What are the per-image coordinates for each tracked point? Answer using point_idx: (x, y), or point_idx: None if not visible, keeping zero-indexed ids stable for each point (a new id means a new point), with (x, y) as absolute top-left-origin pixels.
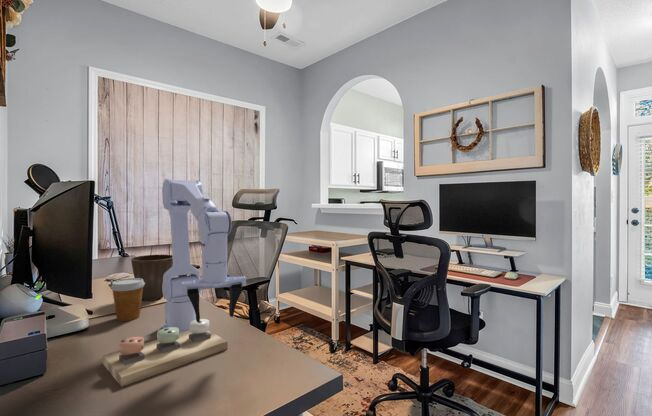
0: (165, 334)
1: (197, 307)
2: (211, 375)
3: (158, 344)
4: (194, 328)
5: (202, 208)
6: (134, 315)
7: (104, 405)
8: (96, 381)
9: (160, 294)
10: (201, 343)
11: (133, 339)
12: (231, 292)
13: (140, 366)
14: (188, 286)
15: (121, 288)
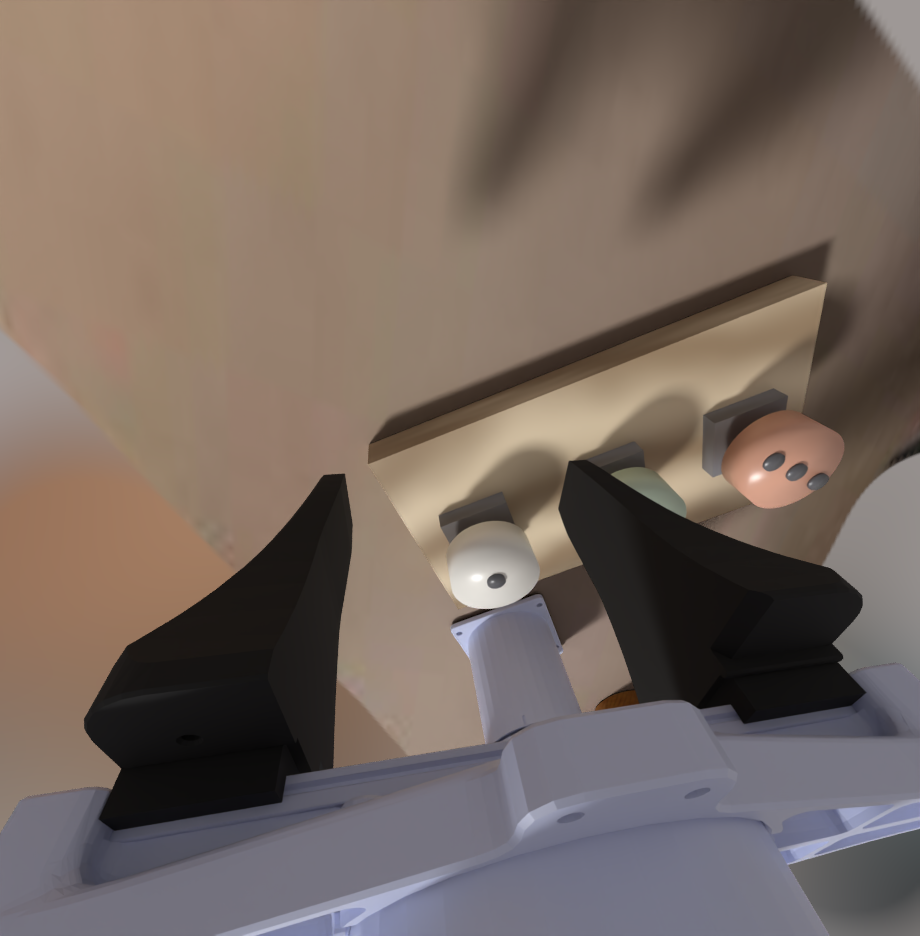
0: (665, 492)
1: (648, 516)
2: (470, 192)
3: None
4: (521, 541)
5: None
6: (615, 707)
7: (895, 135)
8: (824, 362)
9: None
10: (482, 477)
11: (789, 478)
12: (305, 668)
13: (738, 354)
14: (913, 739)
15: None
